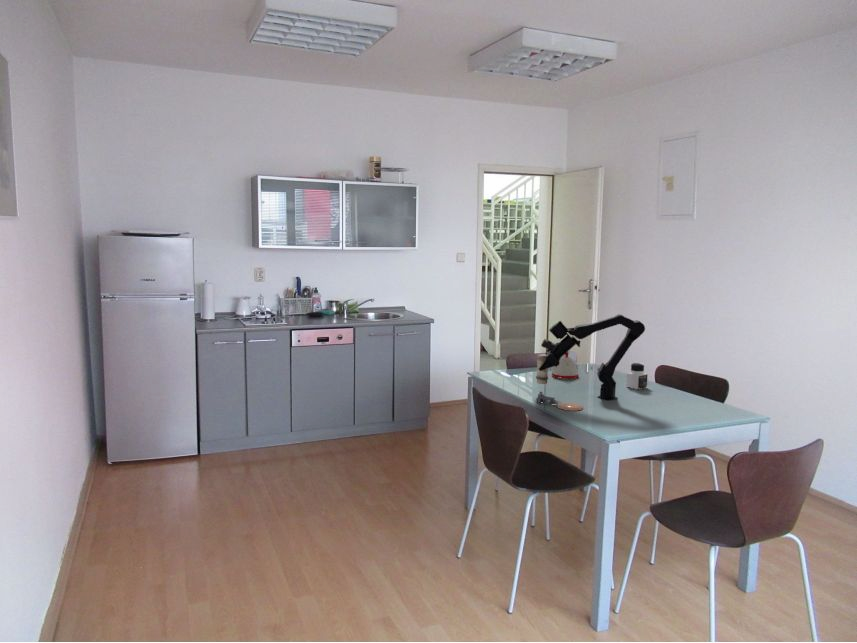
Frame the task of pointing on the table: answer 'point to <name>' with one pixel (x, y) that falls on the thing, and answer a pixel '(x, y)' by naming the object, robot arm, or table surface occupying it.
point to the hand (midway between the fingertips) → (539, 368)
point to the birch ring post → (541, 374)
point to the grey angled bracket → (545, 398)
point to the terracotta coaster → (570, 406)
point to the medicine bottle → (637, 377)
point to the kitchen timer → (566, 367)
